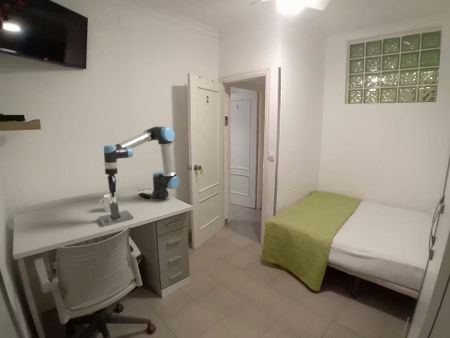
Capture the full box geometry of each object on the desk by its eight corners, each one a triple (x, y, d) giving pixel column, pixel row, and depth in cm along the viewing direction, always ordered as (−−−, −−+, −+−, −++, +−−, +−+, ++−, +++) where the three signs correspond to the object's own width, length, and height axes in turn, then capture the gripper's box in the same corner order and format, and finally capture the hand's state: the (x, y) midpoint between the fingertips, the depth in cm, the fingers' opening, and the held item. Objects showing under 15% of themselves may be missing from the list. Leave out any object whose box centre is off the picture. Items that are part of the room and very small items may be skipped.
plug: (118, 217, 168) (115, 199, 165) (120, 219, 165) (117, 201, 161) (111, 219, 166) (108, 201, 162) (113, 221, 162) (110, 202, 159)
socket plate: (127, 212, 177) (127, 209, 176) (133, 219, 166) (133, 215, 166) (98, 219, 164) (97, 216, 164) (102, 226, 154) (102, 223, 153)
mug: (101, 213, 174) (99, 198, 172) (99, 209, 181) (98, 195, 179) (117, 210, 181) (116, 195, 178) (115, 206, 188) (114, 192, 185)
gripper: (102, 166, 160) (104, 199, 164) (107, 170, 150) (109, 204, 154) (114, 166, 164) (116, 197, 169) (119, 169, 155) (121, 202, 159)
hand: (112, 200), depth 162 cm, fingers closed
